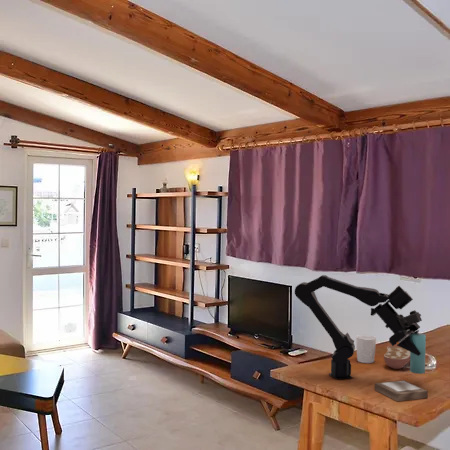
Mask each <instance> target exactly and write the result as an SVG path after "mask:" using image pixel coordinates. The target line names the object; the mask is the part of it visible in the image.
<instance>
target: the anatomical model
mask: <svg viewBox="0 0 450 450" xmlns="http://www.w3.org/2000/svg"><path fill="white" fill-rule="evenodd" d="M386 349H387V351H386V353H384V355H383V360H384V363H385V364H386V365H387V366H388V367H389V368H391V369H395V370H399V369H402V368H404V367H405V366H407V364H408V363H409V362H410V351H408V350H406V349H404V348H402V347H400V346H397V345H394V346H392V345H389V346H387V347H386ZM408 361H409V362H408Z"/></svg>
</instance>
